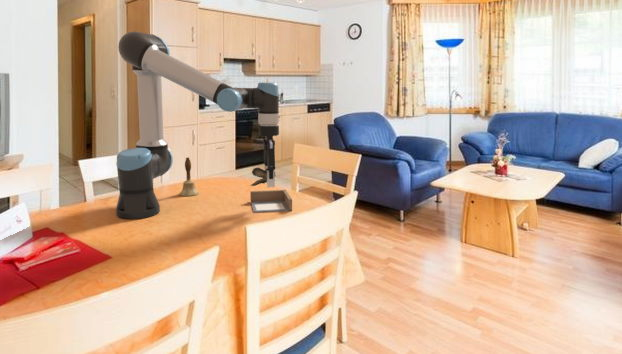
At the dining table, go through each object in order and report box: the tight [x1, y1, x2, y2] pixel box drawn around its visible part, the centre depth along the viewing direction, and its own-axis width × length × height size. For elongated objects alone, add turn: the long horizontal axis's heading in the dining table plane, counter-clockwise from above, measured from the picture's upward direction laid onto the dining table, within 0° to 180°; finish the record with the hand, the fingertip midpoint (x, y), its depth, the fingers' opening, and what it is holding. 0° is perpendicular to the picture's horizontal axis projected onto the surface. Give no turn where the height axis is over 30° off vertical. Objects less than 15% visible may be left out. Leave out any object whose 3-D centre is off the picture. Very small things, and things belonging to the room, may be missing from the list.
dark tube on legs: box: [250, 167, 276, 187], centre depth 166 cm, size 8×7×9 cm
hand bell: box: [179, 157, 200, 197], centre depth 187 cm, size 8×8×16 cm
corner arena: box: [249, 189, 293, 214], centre depth 171 cm, size 14×15×4 cm
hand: (269, 184), depth 167 cm, fingers closed on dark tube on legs, 7 cm apart
